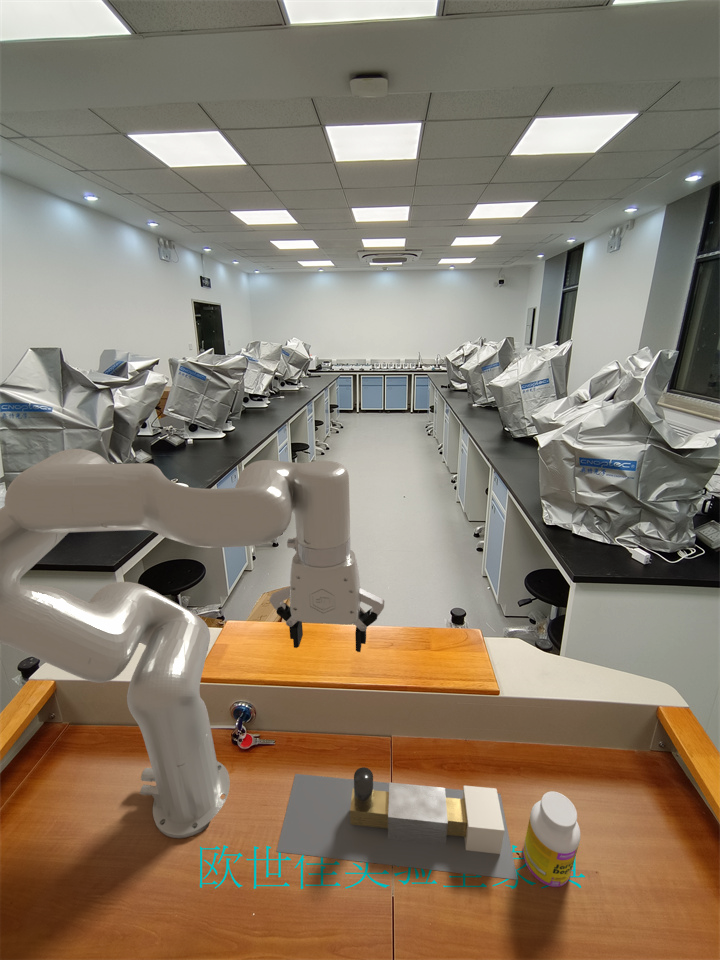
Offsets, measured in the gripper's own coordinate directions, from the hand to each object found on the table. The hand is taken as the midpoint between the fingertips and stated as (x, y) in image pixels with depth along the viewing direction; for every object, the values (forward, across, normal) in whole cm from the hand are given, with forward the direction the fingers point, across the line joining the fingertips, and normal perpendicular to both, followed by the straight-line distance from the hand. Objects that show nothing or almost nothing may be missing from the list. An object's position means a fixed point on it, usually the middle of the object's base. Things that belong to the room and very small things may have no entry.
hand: (328, 643), depth 66 cm
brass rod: (+29, +15, -7) cm, 33 cm away
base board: (+30, +11, -7) cm, 33 cm away
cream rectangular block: (+29, +25, -7) cm, 39 cm away
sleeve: (+29, +14, -7) cm, 33 cm away
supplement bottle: (+31, +34, -10) cm, 47 cm away
